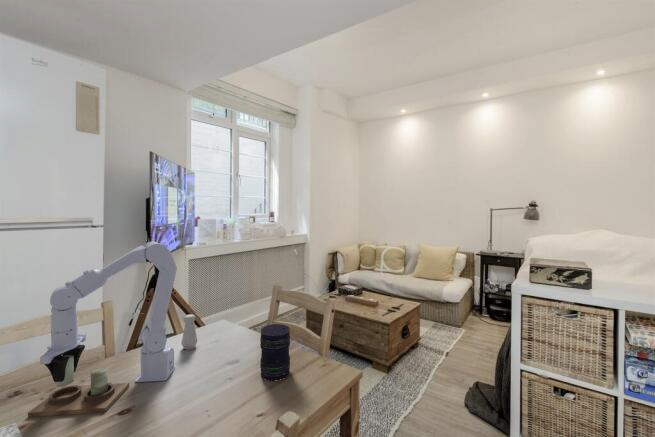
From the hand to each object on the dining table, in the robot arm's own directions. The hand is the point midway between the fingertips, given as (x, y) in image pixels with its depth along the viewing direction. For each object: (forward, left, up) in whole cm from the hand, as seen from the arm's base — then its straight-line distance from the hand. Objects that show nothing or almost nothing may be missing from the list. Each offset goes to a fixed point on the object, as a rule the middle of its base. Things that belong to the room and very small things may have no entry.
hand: (65, 376), depth 86 cm
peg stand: (-5, 0, -7) cm, 8 cm away
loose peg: (0, 0, -2) cm, 2 cm away
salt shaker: (-24, -32, -7) cm, 40 cm away
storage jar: (-59, -9, -8) cm, 60 cm away
